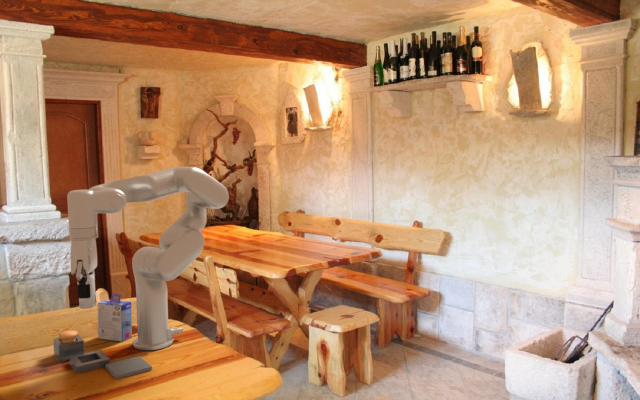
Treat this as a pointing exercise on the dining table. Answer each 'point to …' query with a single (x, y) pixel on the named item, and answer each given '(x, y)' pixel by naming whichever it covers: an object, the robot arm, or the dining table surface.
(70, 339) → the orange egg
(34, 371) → the dining table surface
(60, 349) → the housing
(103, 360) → the collar
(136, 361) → the mat
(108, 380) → the dining table surface
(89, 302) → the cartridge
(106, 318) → the ink cartridge box
